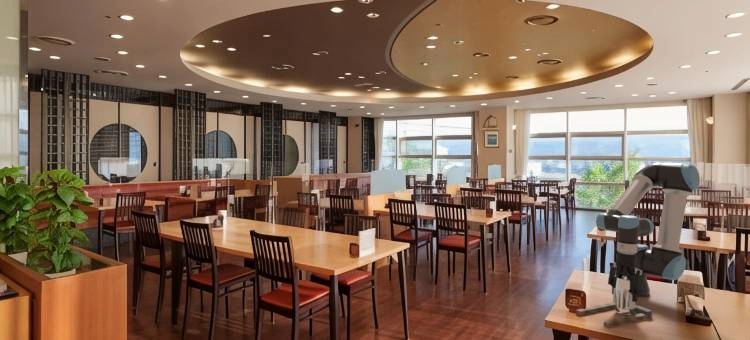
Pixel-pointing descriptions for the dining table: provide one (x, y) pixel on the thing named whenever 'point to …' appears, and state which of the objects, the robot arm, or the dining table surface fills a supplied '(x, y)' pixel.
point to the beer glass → (623, 295)
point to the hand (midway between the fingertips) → (623, 305)
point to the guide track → (638, 311)
